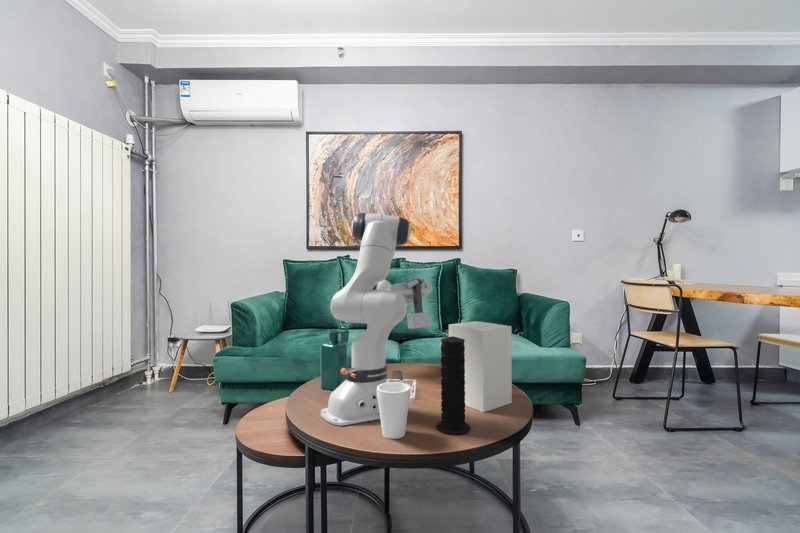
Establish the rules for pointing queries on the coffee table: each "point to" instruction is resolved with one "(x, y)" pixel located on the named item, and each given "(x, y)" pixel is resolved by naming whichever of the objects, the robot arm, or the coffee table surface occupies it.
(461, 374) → the handle grip
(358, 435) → the coffee table surface
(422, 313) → the hammer
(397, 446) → the coffee table surface
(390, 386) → the foam cup
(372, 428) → the coffee table surface
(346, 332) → the green bottle
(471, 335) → the plinth
